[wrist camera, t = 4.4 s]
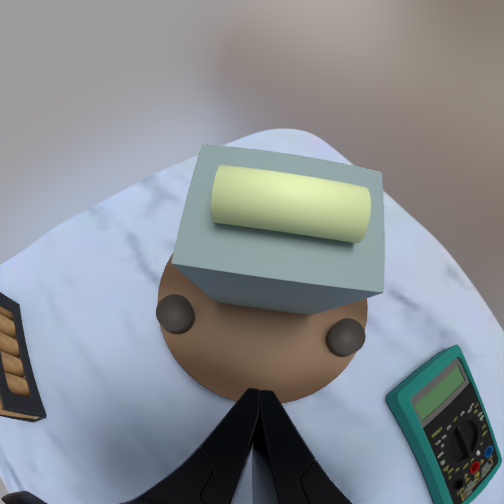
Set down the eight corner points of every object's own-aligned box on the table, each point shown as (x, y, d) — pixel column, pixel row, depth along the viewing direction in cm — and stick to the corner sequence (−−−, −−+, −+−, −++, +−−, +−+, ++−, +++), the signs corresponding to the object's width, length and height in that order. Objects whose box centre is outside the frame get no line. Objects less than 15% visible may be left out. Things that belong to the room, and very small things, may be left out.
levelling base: (349, 410, 16) (386, 408, 12) (147, 382, 17) (115, 372, 12) (352, 240, 24) (375, 199, 19) (191, 217, 24) (182, 171, 19)
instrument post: (311, 315, 17) (405, 284, 6) (215, 301, 17) (156, 249, 6) (318, 253, 18) (397, 150, 7) (225, 240, 18) (195, 118, 7)
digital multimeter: (435, 518, 11) (454, 524, 8) (379, 395, 17) (398, 392, 15) (488, 465, 12) (508, 464, 10) (440, 347, 19) (461, 337, 17)
